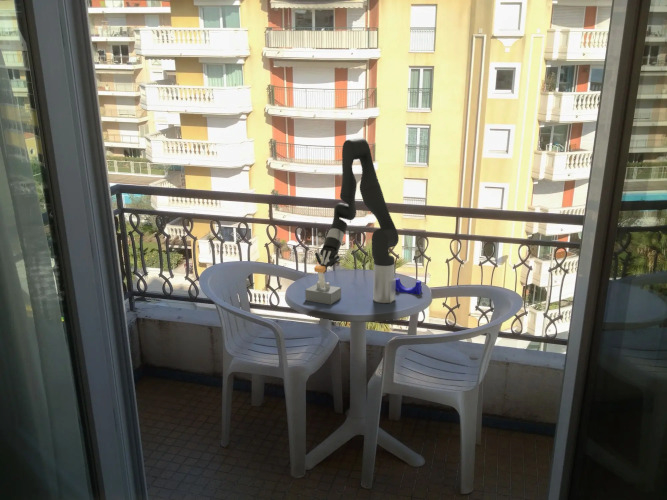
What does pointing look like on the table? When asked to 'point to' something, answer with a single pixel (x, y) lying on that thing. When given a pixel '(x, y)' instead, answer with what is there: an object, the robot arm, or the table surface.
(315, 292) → the block
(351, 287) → the table surface
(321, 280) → the lever
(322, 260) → the robot arm
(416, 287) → the cable clip
